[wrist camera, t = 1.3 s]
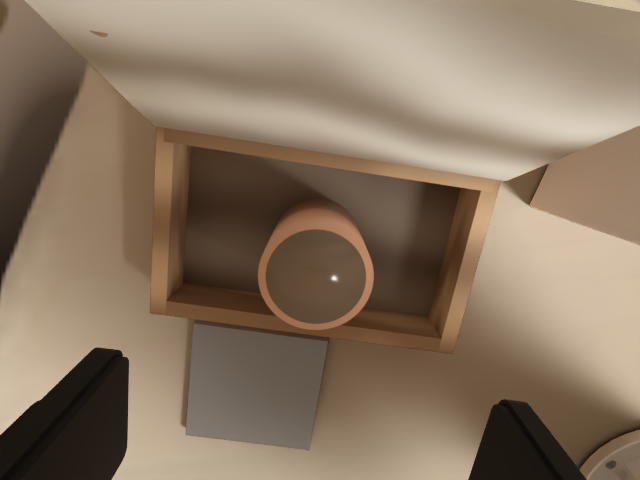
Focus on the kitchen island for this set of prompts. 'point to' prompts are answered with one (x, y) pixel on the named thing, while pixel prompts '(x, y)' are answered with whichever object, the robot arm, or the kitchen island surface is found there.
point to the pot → (316, 266)
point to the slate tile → (254, 384)
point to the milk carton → (597, 187)
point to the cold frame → (351, 133)
